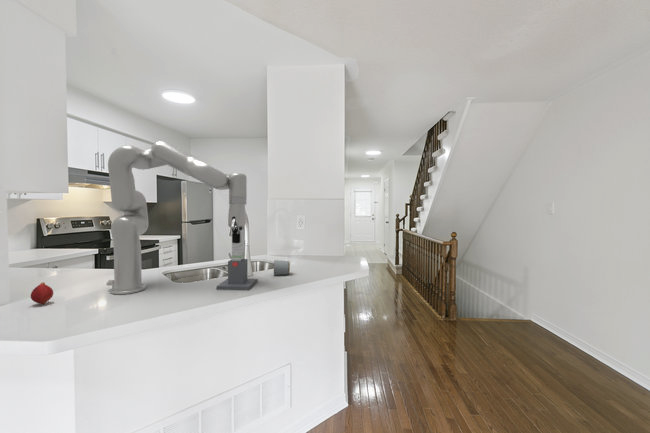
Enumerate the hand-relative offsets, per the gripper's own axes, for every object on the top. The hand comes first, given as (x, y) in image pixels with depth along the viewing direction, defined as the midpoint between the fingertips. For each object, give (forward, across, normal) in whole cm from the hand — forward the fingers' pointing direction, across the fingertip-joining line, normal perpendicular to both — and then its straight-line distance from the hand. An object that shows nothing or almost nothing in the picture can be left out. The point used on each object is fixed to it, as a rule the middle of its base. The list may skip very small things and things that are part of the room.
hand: (237, 241), depth 132 cm
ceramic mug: (+20, -24, +15) cm, 34 cm away
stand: (+20, 0, 0) cm, 20 cm away
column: (+12, 0, 0) cm, 12 cm away
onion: (+20, +30, -61) cm, 71 cm away
